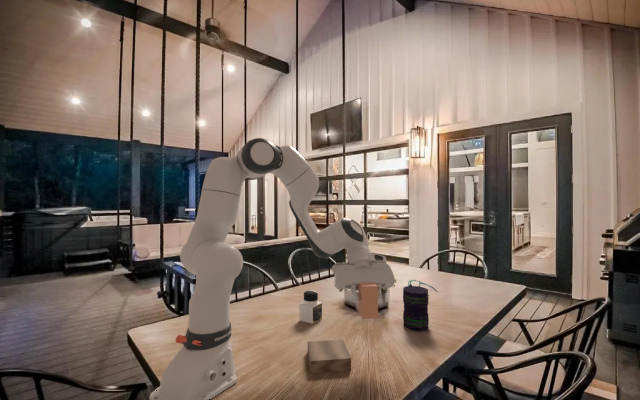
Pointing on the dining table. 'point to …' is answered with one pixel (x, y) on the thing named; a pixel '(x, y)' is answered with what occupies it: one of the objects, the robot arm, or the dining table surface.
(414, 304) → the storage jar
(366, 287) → the terracotta block
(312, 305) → the medicine bottle
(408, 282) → the sunglasses
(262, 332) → the dining table surface
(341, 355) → the walnut block
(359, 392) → the dining table surface
